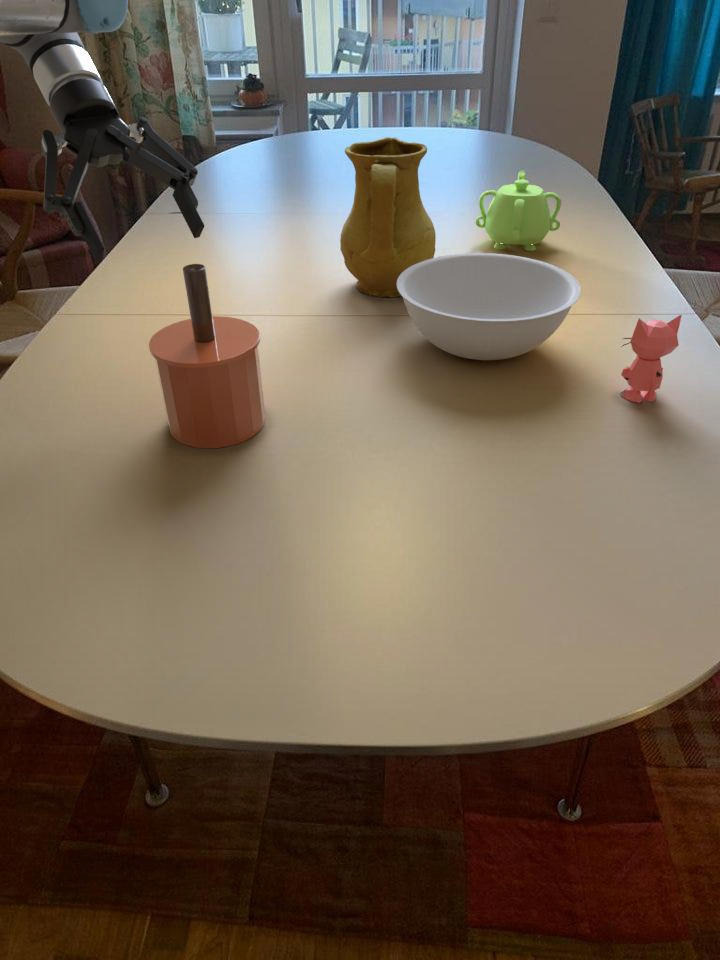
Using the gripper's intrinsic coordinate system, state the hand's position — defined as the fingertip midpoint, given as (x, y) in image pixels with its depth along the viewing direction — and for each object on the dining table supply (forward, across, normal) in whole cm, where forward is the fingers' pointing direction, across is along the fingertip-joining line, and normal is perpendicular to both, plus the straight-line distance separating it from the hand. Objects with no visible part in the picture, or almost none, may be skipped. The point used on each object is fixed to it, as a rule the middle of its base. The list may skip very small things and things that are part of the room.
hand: (151, 243), depth 92 cm
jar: (+23, 0, -8) cm, 24 cm away
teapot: (+6, -86, -24) cm, 90 cm away
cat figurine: (+46, -48, +15) cm, 68 cm away
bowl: (+28, -44, -3) cm, 52 cm away
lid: (+14, 0, 0) cm, 15 cm away
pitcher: (+7, -49, -23) cm, 54 cm away
